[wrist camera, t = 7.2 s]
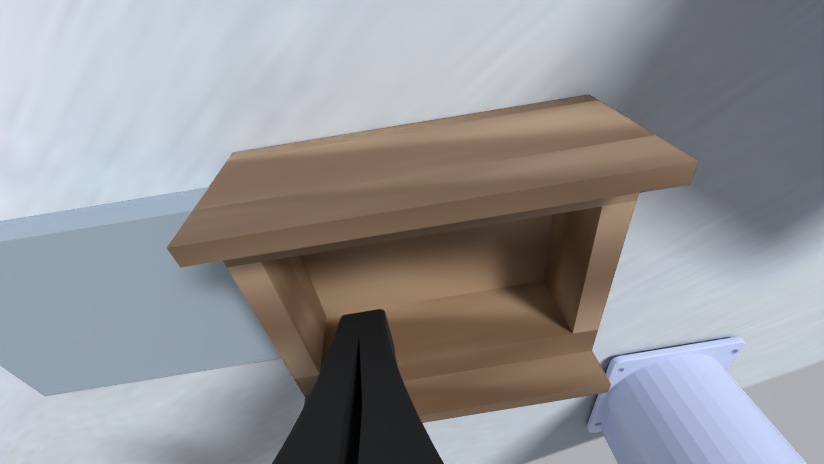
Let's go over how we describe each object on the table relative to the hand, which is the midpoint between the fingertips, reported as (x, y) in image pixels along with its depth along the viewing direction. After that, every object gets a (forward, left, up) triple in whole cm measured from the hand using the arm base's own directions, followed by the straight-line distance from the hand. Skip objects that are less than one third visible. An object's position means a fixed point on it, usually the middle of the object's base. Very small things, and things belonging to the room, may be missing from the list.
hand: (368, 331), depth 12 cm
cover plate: (0, +10, -5) cm, 11 cm away
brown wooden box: (0, -2, -4) cm, 5 cm away
